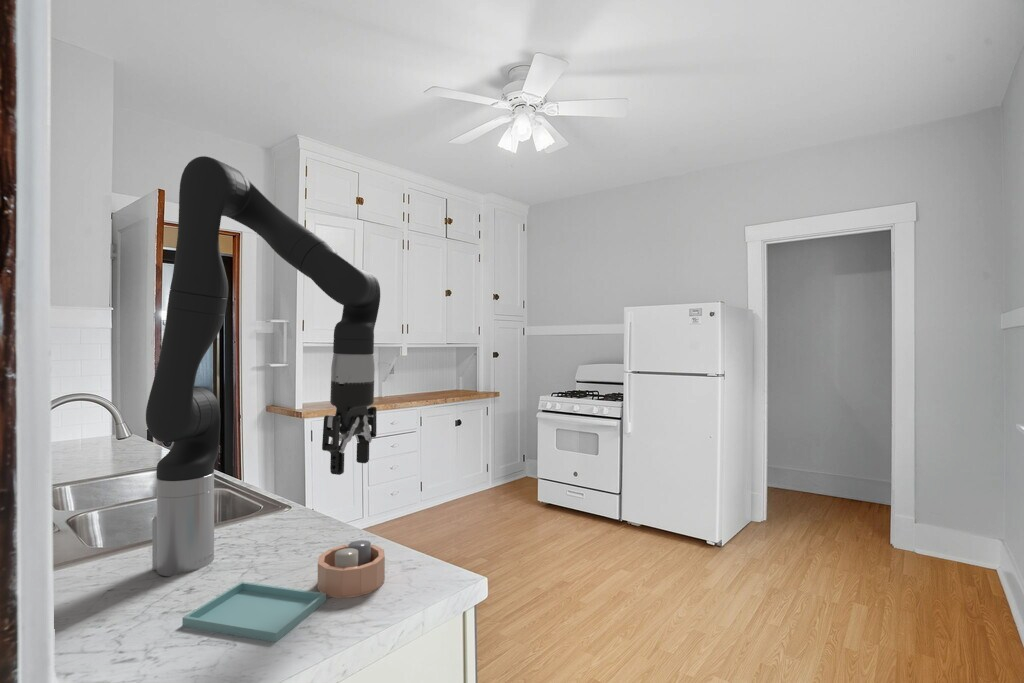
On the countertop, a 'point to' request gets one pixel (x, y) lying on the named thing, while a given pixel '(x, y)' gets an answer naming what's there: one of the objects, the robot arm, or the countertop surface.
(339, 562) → the beige rounded cylinder
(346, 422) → the robot arm
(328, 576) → the bowl
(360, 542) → the grey rounded cylinder
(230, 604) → the tray
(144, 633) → the countertop surface
